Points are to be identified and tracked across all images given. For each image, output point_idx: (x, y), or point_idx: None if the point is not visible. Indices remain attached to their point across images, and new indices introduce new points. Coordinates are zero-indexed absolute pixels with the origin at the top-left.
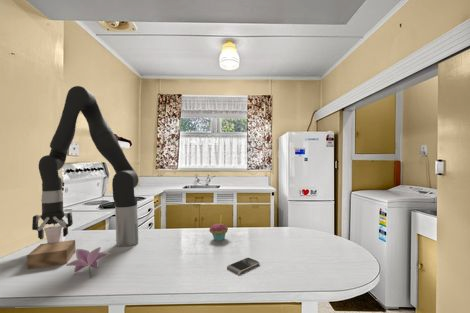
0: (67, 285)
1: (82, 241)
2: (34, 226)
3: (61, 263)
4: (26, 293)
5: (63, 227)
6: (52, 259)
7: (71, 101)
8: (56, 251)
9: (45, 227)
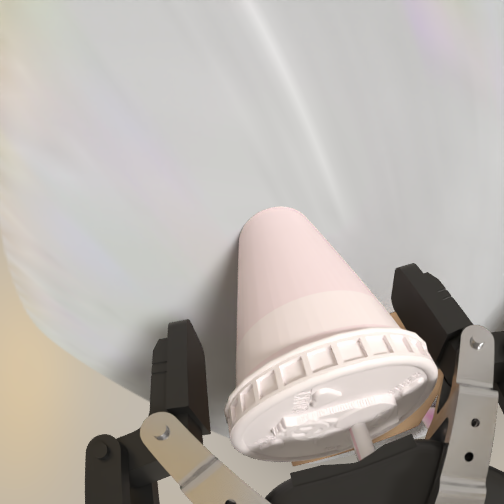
0: (405, 432)
1: (444, 104)
2: (147, 499)
3: None
4: (342, 455)
5: (441, 382)
6: None
7: None
8: (387, 436)
9: (237, 446)
